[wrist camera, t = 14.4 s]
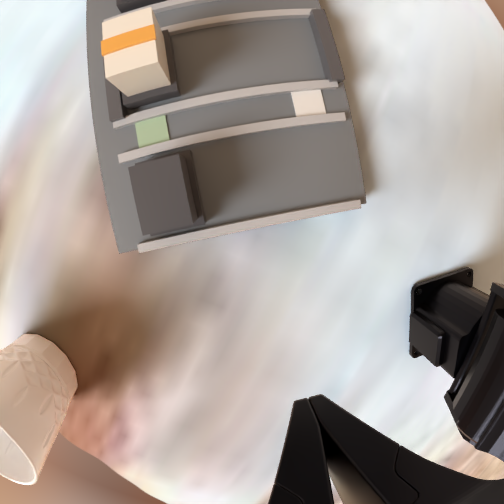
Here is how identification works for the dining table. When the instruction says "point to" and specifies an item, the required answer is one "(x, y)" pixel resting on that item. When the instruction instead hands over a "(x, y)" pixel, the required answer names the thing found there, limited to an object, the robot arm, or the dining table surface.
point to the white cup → (32, 404)
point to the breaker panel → (226, 124)
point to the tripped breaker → (139, 58)
